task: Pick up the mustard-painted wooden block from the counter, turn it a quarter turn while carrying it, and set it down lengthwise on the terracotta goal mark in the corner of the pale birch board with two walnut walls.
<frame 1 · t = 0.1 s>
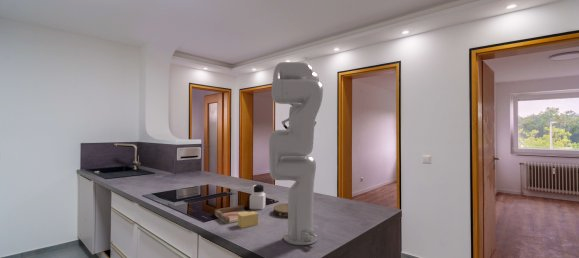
hand: (298, 138, 136), 37 cm above the worktop, tool pointing down, fingers open, 9 cm apart
medicine bottle: (257, 207, 146), on the worktop
tan flat round disc: (289, 213, 136), on the worktop
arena: (235, 216, 130), on the worktop
mustard block: (247, 225, 118), on the worktop
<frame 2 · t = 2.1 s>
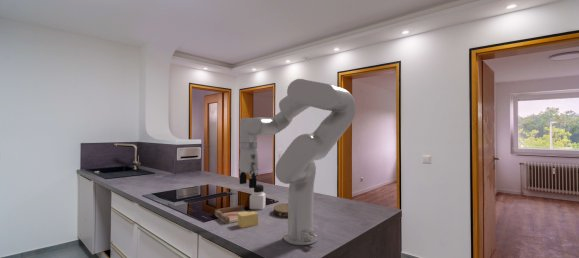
hand: (247, 185, 119), 17 cm above the worktop, tool pointing down, fingers open, 9 cm apart
nothing on the worktop moved.
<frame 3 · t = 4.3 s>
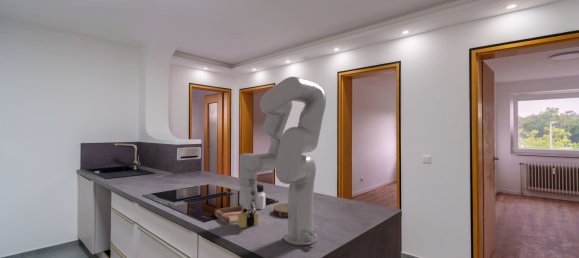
hand: (247, 223, 118), 1 cm above the worktop, tool pointing down, fingers closed on mustard block, 4 cm apart
mustard block: (247, 224, 118), on the worktop, touching gripper
everything else where it was.
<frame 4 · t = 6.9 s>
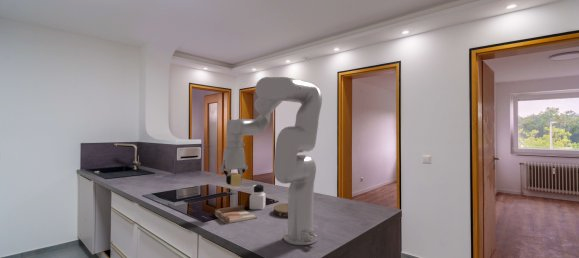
hand: (233, 183, 131), 16 cm above the worktop, tool pointing down, fingers closed on mustard block, 4 cm apart
mustard block: (233, 184, 131), point 15 cm above the worktop, touching gripper
everything else where it was.
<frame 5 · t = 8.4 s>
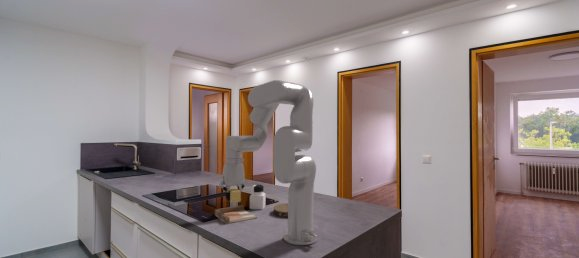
hand: (233, 199, 131), 8 cm above the worktop, tool pointing down, fingers closed on mustard block, 4 cm apart
mustard block: (233, 200, 131), point 7 cm above the worktop, touching gripper
everything else where it was.
when the fingers open (2 cm above the worktop, at t = 9.8 s): mustard block stays where it is, resting on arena.
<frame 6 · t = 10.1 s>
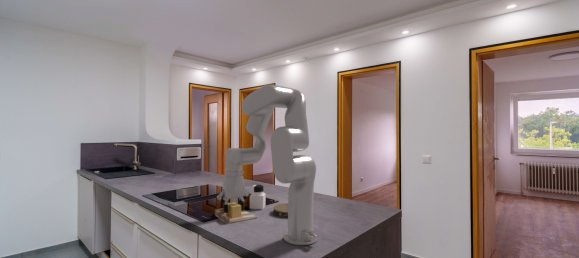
hand: (233, 210, 131), 2 cm above the worktop, tool pointing down, fingers open, 7 cm apart
mustard block: (233, 215, 131), resting on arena
everything else where it was.
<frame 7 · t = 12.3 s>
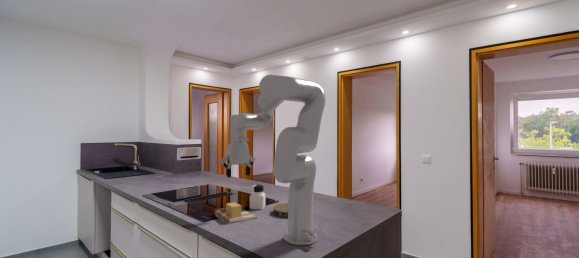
hand: (238, 176, 131), 19 cm above the worktop, tool pointing down, fingers open, 9 cm apart
nothing on the worktop moved.
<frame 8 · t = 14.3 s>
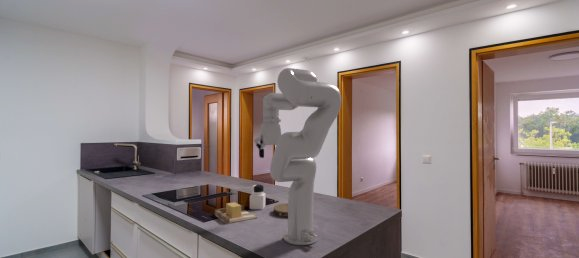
hand: (270, 157, 131), 28 cm above the worktop, tool pointing down, fingers open, 9 cm apart
nothing on the worktop moved.
at the end: mustard block 0.1 cm from the target spot on the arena, point 0.5 cm above the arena's base; mustard block tilted 0°; the gripper is holding nothing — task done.
